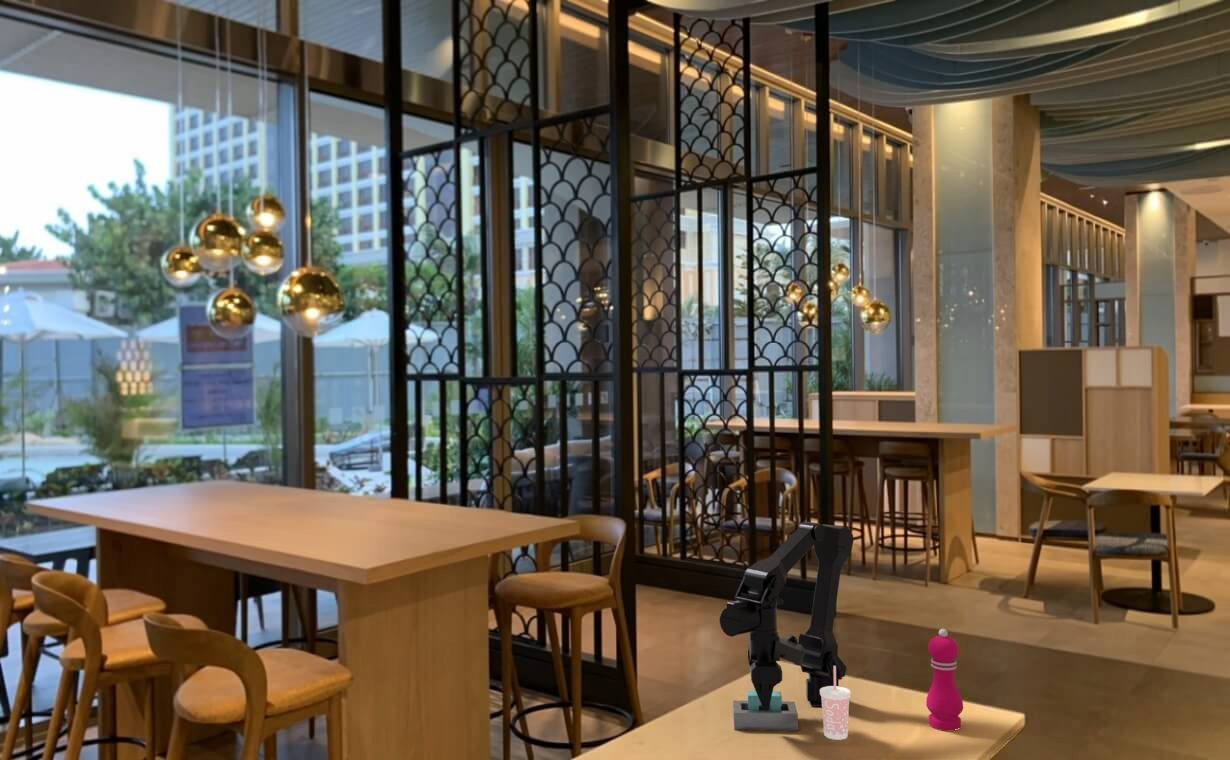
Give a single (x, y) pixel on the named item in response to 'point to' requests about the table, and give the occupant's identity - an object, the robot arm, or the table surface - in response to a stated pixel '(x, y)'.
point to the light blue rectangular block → (755, 702)
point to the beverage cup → (835, 710)
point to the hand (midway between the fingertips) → (764, 702)
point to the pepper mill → (944, 684)
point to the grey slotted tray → (765, 717)
